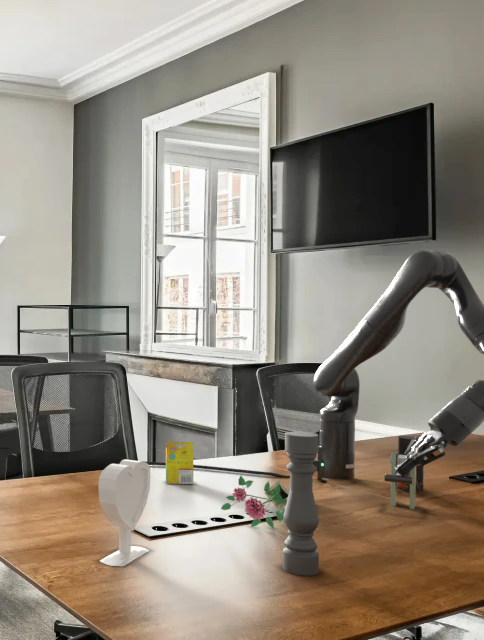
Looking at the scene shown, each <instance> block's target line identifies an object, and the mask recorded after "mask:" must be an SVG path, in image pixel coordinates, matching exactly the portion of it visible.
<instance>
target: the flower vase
mask: <svg viewBox="0 0 484 640" xmlns="http://www.w3.org/2000/svg"><path fill="white" fill-rule="evenodd" d="M237 481H238V486H242V487H237V488H236V487H235V488H234V489H233V490H232V493H231V495H228V496H226V497H225V499H226V500H228V501H231V502H234V503H233V504H231V503H230V502H226V503H224V504H222V506H221V507H220V510H223V511H228V510H231V507H232V506H234V505H235V504H237V503H240V502H243V501H244V507H245V508H244V512H246V513H247V515H249V517H250V518H252V519H253V520H252V521H251V525H250V528H254V527H257V526H258V525H260V524H261V523H262V519H264V518H265V517H264V516H266V515H267V514H266V513H268V512H267V509H268V507H269V506H270V504H271V503H272V504H273V505H274V507H275V508H276V509H280V510H279V511H276V513H275V515H276V519H277V520H278V521H279V522H280V523H281V522H282V520H283V514H284V511H285V507H286V503H287V499H288V495H289V491H290V487H287V486H286V485H284V484H283V483H282V482H281V481H280V480H277V482H276V483H274V484H273V485H271V484H270V481H267V482H266V483H265V485H264V487H263V491H264V494H265V495H266V497H267V498H266V497H261V496H256V495H252V494H247V491H246V489H249V488H250V487H251V486H252V485H253V483H254V480H246V481H245V478H244V477H243V476H242V474H240V476H239V478H238V480H237ZM244 486H245V487H244ZM247 497H250V498H247ZM258 499H262V500H266V501H263V502H262V500H258ZM235 501H236V502H235ZM267 503H268V505H266V504H267ZM265 506H267V507H265ZM282 508H283V510H282ZM265 522H266V524H267V525H268V527H270V528H272V529H273V530H274V529H275V523H274V520H273V518H272V517H271V516H269V515H267V517H266V518H265Z"/></svg>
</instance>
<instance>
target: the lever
mask: <svg viewBox="0 0 484 640" xmlns="http://www.w3.org/2000/svg"><path fill="white" fill-rule="evenodd" d="M405 458H406V455H399V457H398V464H399V463H401V462H402V461H403V460H404V459H405ZM384 482H389V483H391V482H395V483H397V484H398V483H404V484H412V483H413V477H409V476H402V475H400V474H398V473H397V474H396V475H391V473H384Z"/></svg>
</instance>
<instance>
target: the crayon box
mask: <svg viewBox="0 0 484 640" xmlns="http://www.w3.org/2000/svg"><path fill="white" fill-rule="evenodd" d="M193 444H194V442H190V441H189V442H185V441H182V442H180V441H178V442H177V441H167V442H166V447H165V463H166V466H165V482H166V484H167V485H171V484H172V485H173V484H174V485H194V484H195V483H194V481H195V480H194V468H193V465H194V445H193ZM177 445H178V446H177ZM179 445H183V446H180V447H179Z"/></svg>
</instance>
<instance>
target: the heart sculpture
mask: <svg viewBox="0 0 484 640" xmlns="http://www.w3.org/2000/svg"><path fill="white" fill-rule="evenodd" d="M141 461H142V460H134V459H133V460H132V459H126V458H125V459H122V460H120V462H119V463H110V464H109V465H106V467H105V468H104V469H103V470H102V471H101V473H100V475H99V477H98V488H97V490H98V501H99V502H98V503H99V505H100V509H101V511H102V514H103V515H104V517H105V519H107V521H109V522H110V523H111V524H112V525H113V526H114V527H115V528H117V529H118V531H119V532H118V550H117V551H114V552H112V553H111V554H109V555H107V556H106V557H104V558H102V559H100V560H99V562H100V563H102V564H104V565H107V566H112V567H113V566H114V567H125V566H127V565H128V564H130V563H131V562H133V561H136V559H138V558H140V557H142V556H143V555H144V554H147V553H148V552H149V551H150V550H149V549H147V548H145V547H142V546H136V545H135V546H134V545H132V532H134V531H135V528H136V527H137V525H138V523H139V520H140V519H141V517H142V514H143V513H144V510H145V508H146V505H147V501H148V498H149V495H150V494H149V493H150V489H151V478H152V477H151V467H150V466H151V465H148V463H146V462H147V461H145V462H141Z"/></svg>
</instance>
